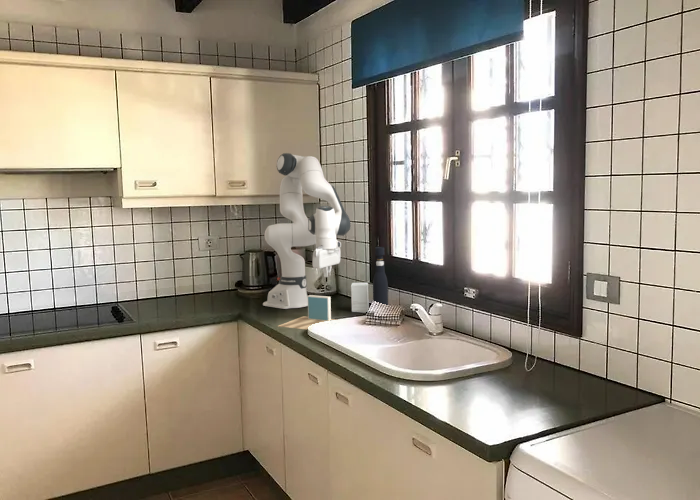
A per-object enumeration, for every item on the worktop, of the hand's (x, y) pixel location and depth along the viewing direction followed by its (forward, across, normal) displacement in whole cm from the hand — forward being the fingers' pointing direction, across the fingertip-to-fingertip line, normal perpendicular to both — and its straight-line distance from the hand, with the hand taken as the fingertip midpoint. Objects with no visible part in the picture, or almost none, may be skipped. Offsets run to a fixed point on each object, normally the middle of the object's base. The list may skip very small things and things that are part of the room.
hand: (327, 276), depth 276 cm
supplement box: (+18, +17, -8) cm, 26 cm away
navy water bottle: (+18, +10, -20) cm, 29 cm away
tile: (+17, -6, +1) cm, 19 cm away
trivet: (+18, -13, +1) cm, 23 cm away
